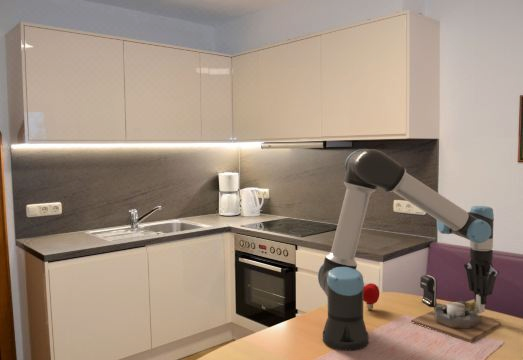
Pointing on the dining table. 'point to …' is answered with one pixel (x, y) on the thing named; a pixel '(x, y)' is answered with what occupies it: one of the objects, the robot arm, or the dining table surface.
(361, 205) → the robot arm
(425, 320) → the mount plate
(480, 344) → the dining table surface
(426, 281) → the battery charger
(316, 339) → the dining table surface
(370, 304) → the light bulb
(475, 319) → the ring nut
